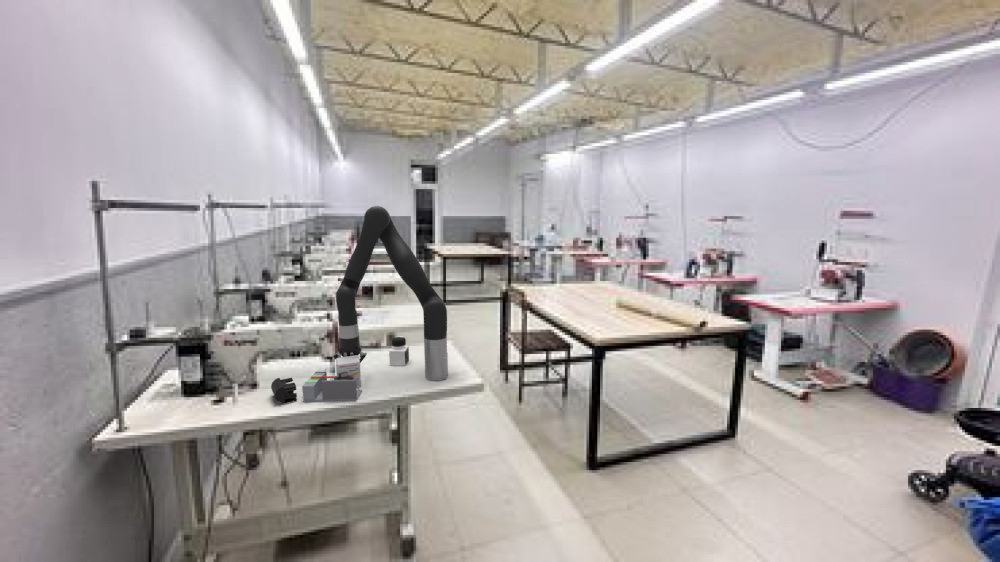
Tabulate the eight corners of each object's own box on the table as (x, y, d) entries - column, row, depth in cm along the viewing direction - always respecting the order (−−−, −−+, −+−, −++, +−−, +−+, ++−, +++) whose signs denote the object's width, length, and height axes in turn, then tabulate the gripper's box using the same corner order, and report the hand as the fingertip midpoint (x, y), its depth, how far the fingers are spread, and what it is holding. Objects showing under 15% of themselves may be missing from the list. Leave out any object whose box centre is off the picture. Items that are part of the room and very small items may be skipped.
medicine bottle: (405, 366, 190) (404, 340, 188) (389, 366, 190) (388, 340, 188) (409, 360, 197) (408, 335, 195) (393, 360, 197) (392, 335, 195)
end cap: (271, 396, 161) (270, 379, 159) (292, 391, 165) (291, 375, 163) (275, 406, 153) (274, 388, 151) (297, 401, 157) (296, 384, 155)
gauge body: (366, 385, 170) (365, 366, 169) (356, 401, 157) (355, 380, 155) (317, 386, 169) (315, 367, 168) (303, 402, 156) (301, 381, 154)
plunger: (354, 389, 165) (353, 374, 163) (351, 393, 161) (350, 377, 160) (314, 389, 164) (313, 374, 163) (310, 393, 160) (309, 378, 159)
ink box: (338, 390, 165) (336, 364, 161) (337, 383, 169) (335, 357, 165) (361, 387, 169) (360, 361, 164) (359, 379, 173) (358, 354, 169)
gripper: (368, 331, 173) (370, 372, 176) (335, 331, 172) (337, 372, 175) (363, 337, 165) (365, 379, 169) (328, 338, 165) (331, 380, 168)
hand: (351, 376), depth 172 cm, fingers closed
